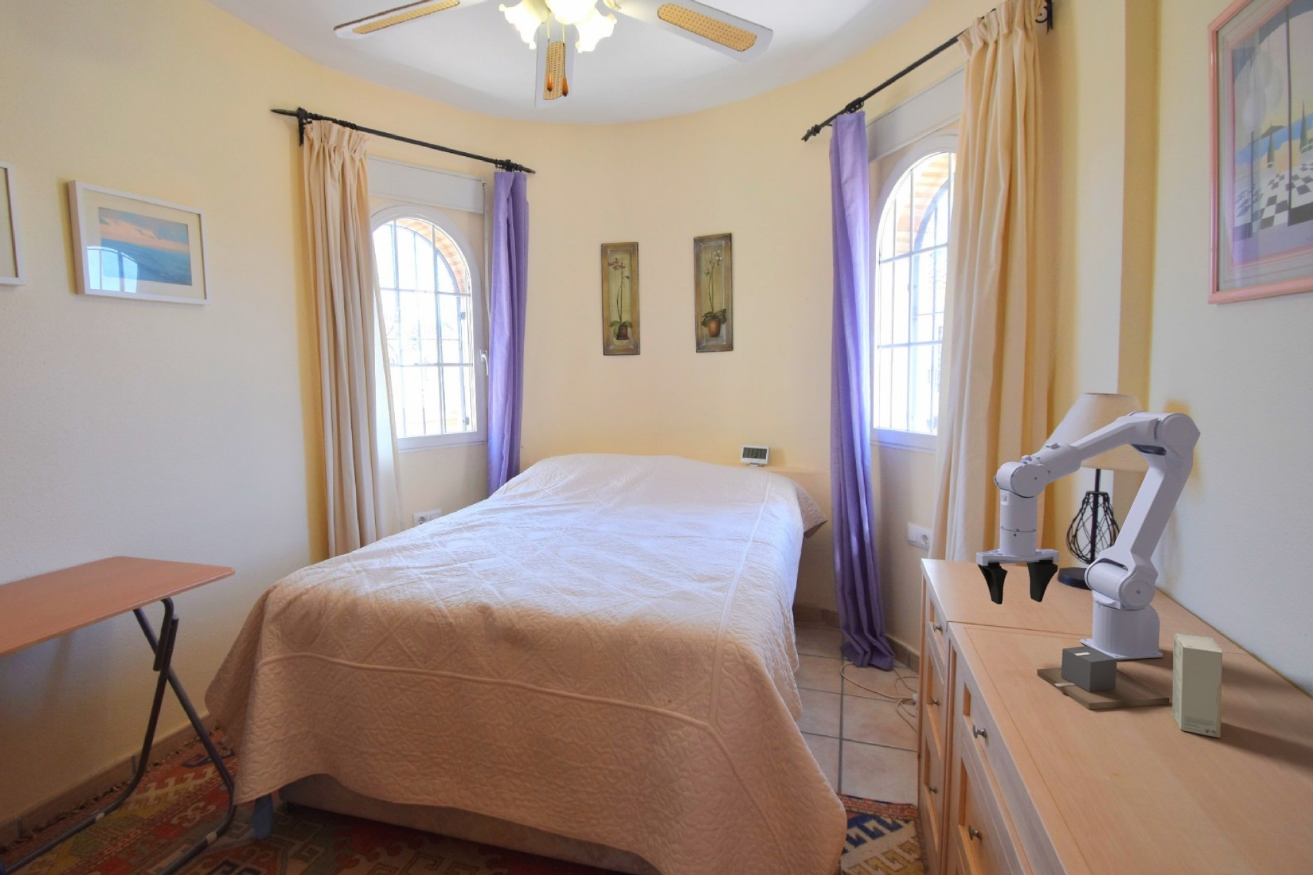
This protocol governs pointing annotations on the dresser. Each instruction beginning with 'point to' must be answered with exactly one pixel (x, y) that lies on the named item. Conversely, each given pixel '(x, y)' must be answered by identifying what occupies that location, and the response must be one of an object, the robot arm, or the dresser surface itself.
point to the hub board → (1107, 691)
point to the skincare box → (1197, 684)
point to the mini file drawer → (1089, 668)
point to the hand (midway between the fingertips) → (1016, 601)
